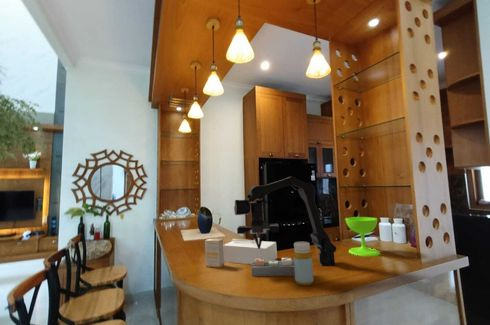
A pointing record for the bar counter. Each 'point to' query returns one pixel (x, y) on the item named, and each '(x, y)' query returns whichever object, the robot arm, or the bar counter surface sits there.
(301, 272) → the bottle
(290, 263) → the key cream
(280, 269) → the keypad
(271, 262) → the key sage
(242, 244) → the tissue box
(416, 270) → the bar counter surface
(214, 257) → the supplement box
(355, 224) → the wineglass
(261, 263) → the key terracotta
